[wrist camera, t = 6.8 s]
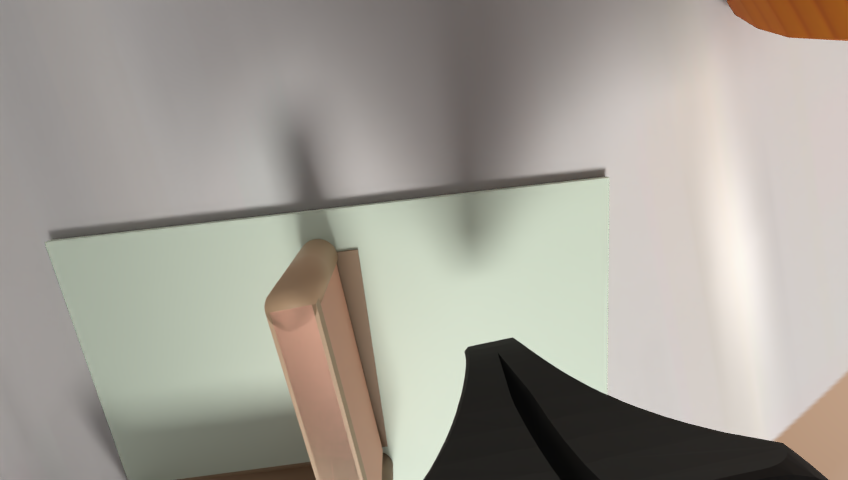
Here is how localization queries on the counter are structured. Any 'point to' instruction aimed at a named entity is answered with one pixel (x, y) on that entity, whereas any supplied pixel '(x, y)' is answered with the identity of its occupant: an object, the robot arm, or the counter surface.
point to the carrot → (796, 17)
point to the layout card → (368, 309)
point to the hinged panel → (324, 366)
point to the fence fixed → (304, 473)
